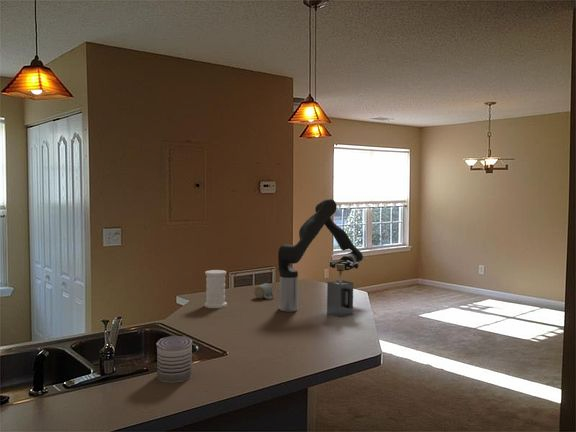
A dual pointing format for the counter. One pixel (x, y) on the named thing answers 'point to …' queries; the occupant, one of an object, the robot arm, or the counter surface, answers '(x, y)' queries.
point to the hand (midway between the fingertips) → (341, 266)
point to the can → (174, 359)
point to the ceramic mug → (264, 291)
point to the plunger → (340, 271)
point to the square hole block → (340, 298)
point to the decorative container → (215, 289)
